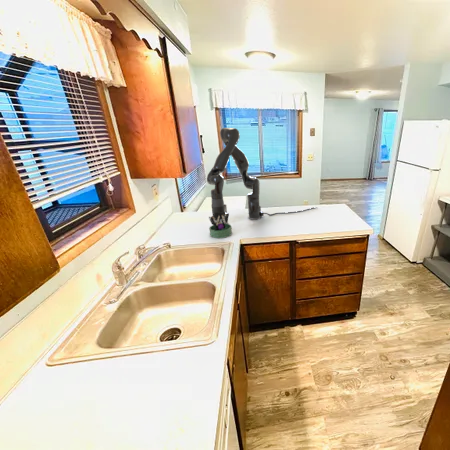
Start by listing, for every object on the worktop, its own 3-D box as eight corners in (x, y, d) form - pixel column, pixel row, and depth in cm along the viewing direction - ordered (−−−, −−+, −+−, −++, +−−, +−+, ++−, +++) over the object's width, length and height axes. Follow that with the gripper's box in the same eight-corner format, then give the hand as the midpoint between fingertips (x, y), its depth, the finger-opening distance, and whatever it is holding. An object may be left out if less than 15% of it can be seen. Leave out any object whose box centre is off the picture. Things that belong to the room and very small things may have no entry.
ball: (221, 227, 165) (221, 222, 163) (225, 229, 162) (224, 223, 161) (216, 229, 162) (215, 223, 160) (219, 231, 159) (218, 225, 157)
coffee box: (213, 225, 180) (210, 204, 174) (219, 222, 186) (217, 202, 180) (222, 227, 176) (220, 206, 171) (228, 224, 182) (226, 204, 176)
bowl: (224, 229, 173) (224, 222, 171) (236, 234, 164) (235, 226, 162) (206, 234, 163) (205, 227, 161) (217, 240, 154) (216, 232, 152)
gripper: (210, 208, 149) (213, 233, 155) (230, 204, 159) (232, 227, 165) (204, 206, 153) (208, 230, 159) (224, 201, 163) (226, 225, 169)
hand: (220, 229), depth 162 cm, fingers closed on ball, 4 cm apart
